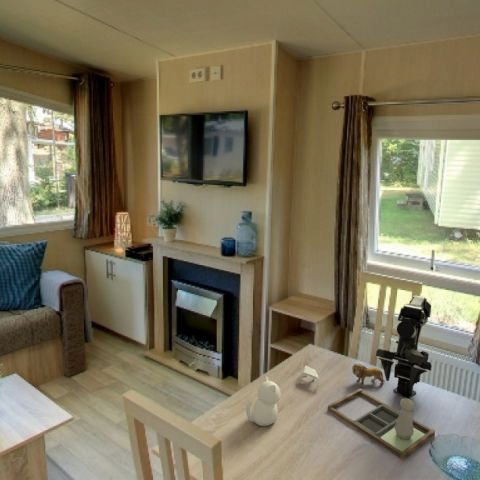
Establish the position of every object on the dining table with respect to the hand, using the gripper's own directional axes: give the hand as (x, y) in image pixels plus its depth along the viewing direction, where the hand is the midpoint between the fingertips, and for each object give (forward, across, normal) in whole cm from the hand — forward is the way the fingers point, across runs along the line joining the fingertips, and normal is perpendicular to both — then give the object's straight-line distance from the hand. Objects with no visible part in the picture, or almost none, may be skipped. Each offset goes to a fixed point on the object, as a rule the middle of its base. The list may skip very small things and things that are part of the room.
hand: (399, 384), depth 140 cm
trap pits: (+14, -4, +2) cm, 15 cm away
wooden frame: (+14, -4, +2) cm, 15 cm away
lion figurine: (+5, +1, +24) cm, 25 cm away
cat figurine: (+24, -43, +7) cm, 50 cm away
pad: (+16, +1, -6) cm, 17 cm away
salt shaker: (+16, +1, -6) cm, 17 cm away
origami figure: (+11, -22, +27) cm, 36 cm away
